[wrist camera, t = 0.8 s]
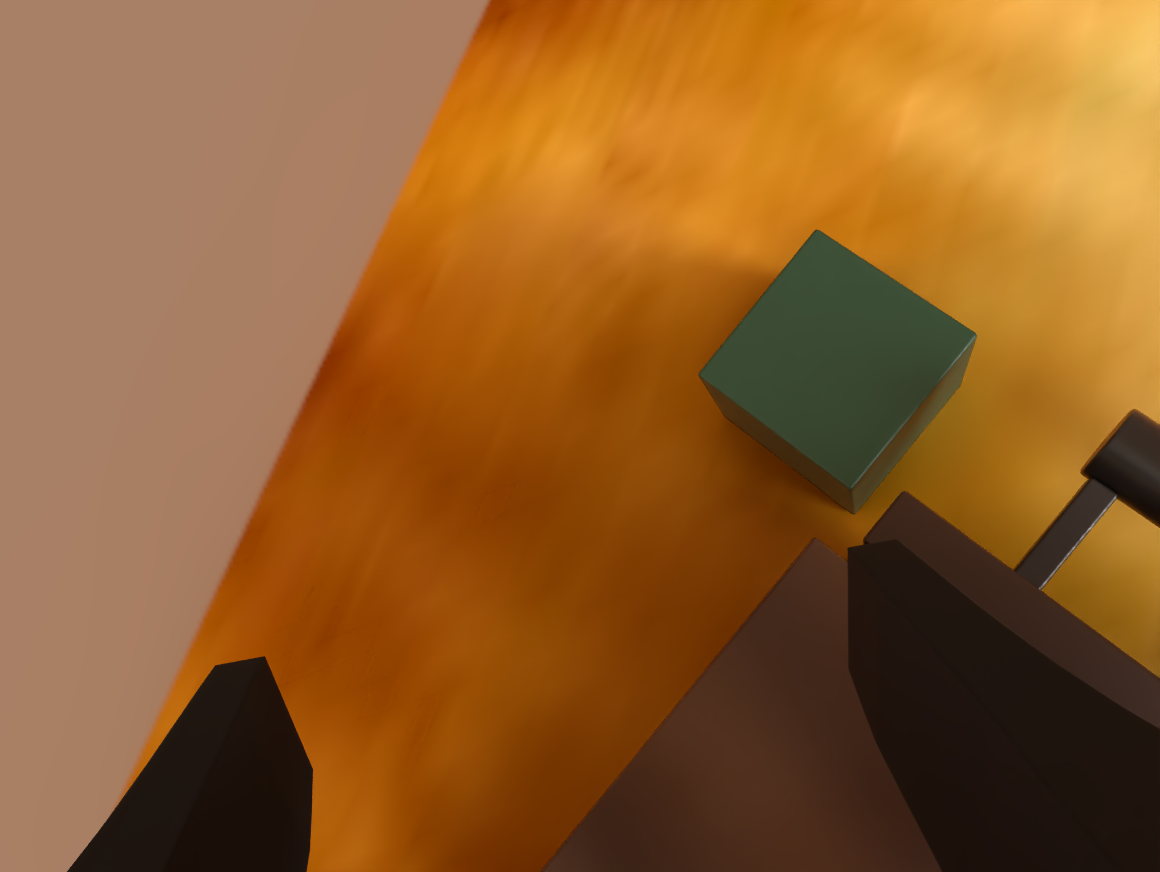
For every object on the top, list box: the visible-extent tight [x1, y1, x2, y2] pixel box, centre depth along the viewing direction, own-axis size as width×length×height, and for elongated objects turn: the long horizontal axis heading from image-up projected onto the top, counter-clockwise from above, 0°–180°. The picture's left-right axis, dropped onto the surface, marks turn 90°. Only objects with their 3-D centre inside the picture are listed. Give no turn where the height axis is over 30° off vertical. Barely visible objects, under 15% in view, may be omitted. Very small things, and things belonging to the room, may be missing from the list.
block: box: [699, 230, 977, 514], centre depth 25 cm, size 4×4×4 cm
